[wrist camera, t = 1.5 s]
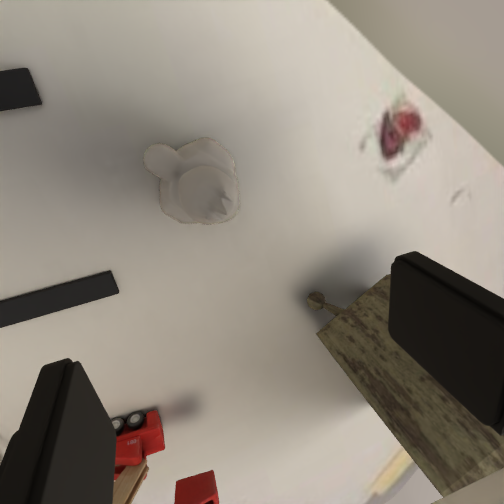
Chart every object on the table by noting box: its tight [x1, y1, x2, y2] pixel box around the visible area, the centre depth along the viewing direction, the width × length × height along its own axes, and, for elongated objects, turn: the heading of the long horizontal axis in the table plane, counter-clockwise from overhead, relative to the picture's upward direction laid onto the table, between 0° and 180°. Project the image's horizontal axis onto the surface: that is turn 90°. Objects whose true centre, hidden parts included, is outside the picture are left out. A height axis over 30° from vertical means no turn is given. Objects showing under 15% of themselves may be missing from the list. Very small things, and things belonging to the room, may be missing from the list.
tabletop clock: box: [307, 274, 504, 498], centre depth 22 cm, size 14×9×25 cm, turn 36°
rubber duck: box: [143, 138, 240, 225], centre depth 19 cm, size 5×7×8 cm
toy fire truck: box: [111, 410, 219, 504], centre depth 26 cm, size 3×14×10 cm, turn 93°
